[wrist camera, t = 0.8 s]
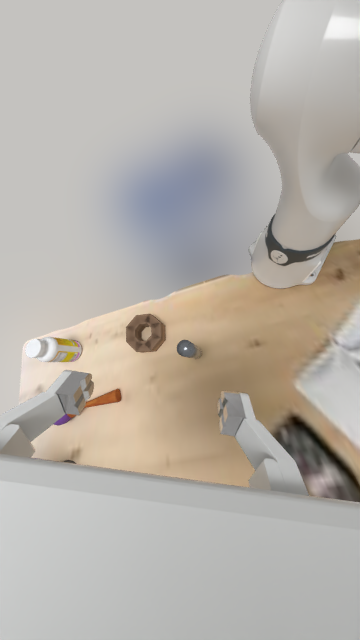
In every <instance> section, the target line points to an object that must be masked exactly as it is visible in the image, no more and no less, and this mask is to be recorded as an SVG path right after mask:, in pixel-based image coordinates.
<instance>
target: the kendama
mask: <svg viewBox="0 0 360 640" xmlns="http://www.w3.org/2000/svg"><path fill="white" fill-rule="evenodd" d="M120 400H121V393H120V390H119V389H116V390H114V391H111V392H109V393H107V394H105V395H102V396H100V397H98V398H95V399H93V400H91V401H89V402H86V405H85V407H84V408H86V407H92V406H98V405H103V404H109V403H115V402H119V401H120ZM75 416H76V415H74V414H65V415H64V416H63V417H62V418H60V419H59V420H58V421H56V422H55V423H54V425H62V424H64V423H66V422H68V421H69V420H70V419H71V418H73V417H75Z"/></svg>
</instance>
